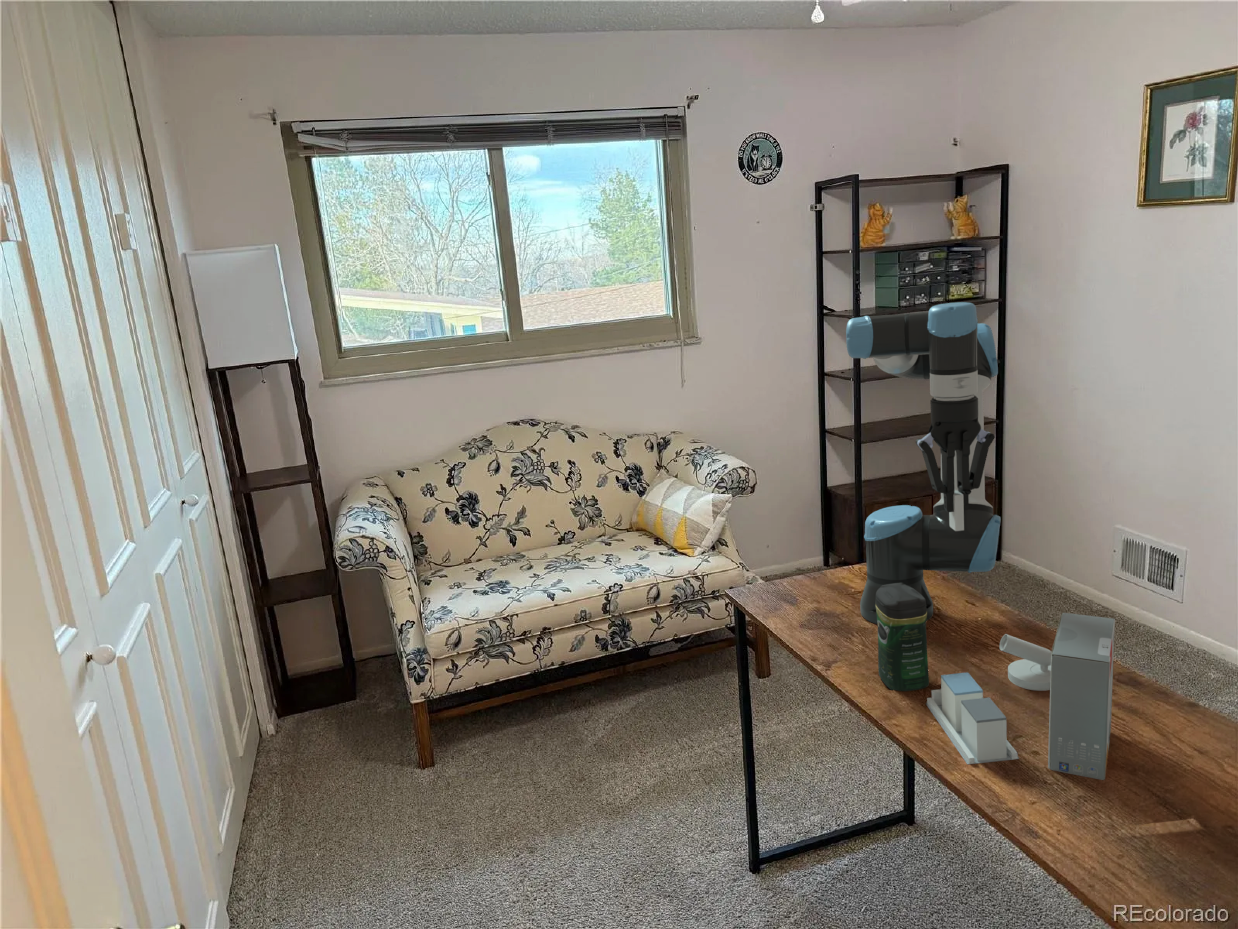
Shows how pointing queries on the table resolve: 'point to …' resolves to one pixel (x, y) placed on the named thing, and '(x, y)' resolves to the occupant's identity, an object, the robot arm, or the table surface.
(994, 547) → the robot arm
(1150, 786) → the table surface
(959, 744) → the rail
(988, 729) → the block
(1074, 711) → the hard drive box
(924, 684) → the coffee jar
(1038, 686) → the wall hook
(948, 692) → the module
